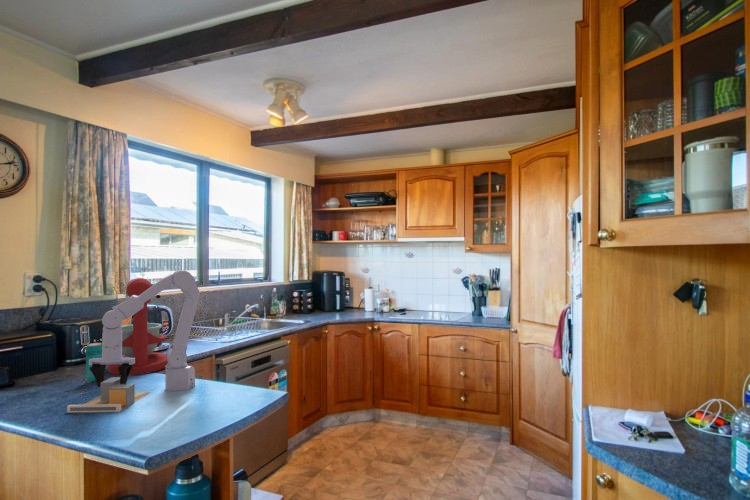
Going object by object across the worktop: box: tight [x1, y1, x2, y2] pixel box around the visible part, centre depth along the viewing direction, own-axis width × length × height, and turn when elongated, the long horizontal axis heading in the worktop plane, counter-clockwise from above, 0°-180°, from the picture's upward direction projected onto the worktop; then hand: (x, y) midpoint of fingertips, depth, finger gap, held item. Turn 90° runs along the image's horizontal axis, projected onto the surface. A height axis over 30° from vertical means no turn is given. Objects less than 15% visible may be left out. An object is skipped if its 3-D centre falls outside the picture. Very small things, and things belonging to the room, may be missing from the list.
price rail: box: [66, 404, 122, 413], centre depth 124 cm, size 16×1×2 cm, turn 91°
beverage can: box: [85, 342, 102, 384], centre depth 159 cm, size 6×6×15 cm
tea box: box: [99, 376, 120, 401], centre depth 137 cm, size 6×4×6 cm
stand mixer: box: [107, 277, 168, 376], centre depth 181 cm, size 24×32×40 cm
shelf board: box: [66, 391, 152, 414], centre depth 133 cm, size 16×18×1 cm
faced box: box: [108, 383, 136, 408], centre depth 130 cm, size 6×4×6 cm
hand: (112, 385), depth 137 cm, fingers open, 7 cm apart
